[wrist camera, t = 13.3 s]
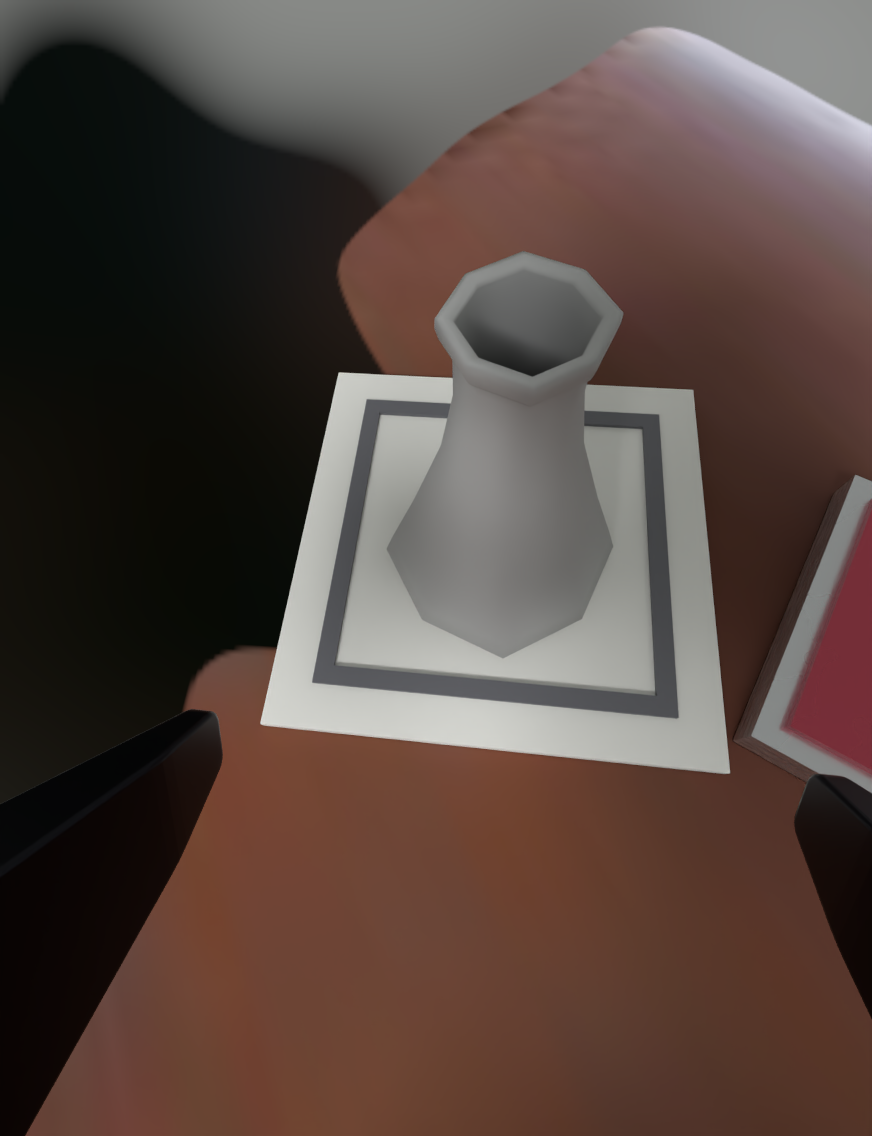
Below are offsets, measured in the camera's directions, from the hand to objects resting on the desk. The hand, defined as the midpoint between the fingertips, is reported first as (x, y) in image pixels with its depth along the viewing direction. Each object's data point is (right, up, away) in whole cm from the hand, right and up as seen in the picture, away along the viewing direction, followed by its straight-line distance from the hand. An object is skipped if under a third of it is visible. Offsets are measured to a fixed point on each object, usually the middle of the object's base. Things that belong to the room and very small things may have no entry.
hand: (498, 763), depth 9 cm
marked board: (+1, +4, +11) cm, 12 cm away
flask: (+1, +3, +11) cm, 11 cm away
